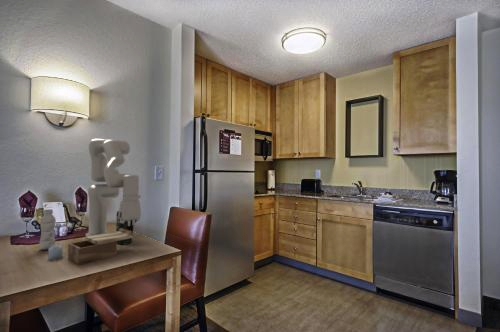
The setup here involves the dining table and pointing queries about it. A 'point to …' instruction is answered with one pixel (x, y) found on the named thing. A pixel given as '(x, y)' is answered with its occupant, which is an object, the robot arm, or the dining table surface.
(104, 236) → the lid
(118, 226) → the coffee jar
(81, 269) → the dining table surface
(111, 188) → the robot arm
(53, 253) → the blue cylinder with recess
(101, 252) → the box
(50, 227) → the plastic bottle
